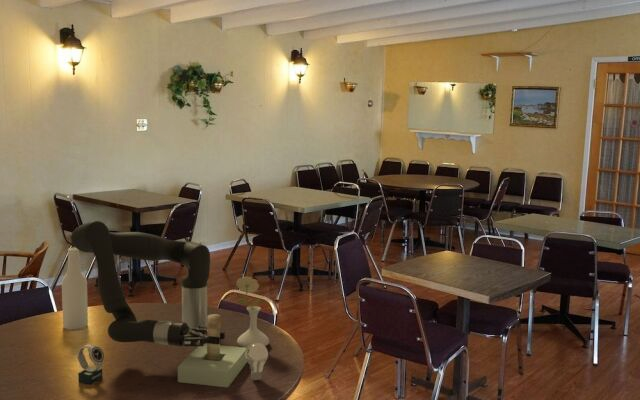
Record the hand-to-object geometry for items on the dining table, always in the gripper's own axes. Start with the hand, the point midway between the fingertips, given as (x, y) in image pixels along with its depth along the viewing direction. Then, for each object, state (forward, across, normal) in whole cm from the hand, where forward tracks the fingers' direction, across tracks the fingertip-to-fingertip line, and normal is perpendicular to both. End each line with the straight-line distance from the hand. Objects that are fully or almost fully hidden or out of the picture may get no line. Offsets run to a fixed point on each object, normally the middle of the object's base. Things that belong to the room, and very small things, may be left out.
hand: (221, 338), depth 205 cm
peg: (-3, 0, +9) cm, 9 cm away
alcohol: (-67, +27, +12) cm, 73 cm away
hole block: (-3, 0, +11) cm, 12 cm away
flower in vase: (+2, +25, +12) cm, 28 cm away
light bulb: (+12, -3, +12) cm, 17 cm away
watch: (-37, -15, +12) cm, 41 cm away
